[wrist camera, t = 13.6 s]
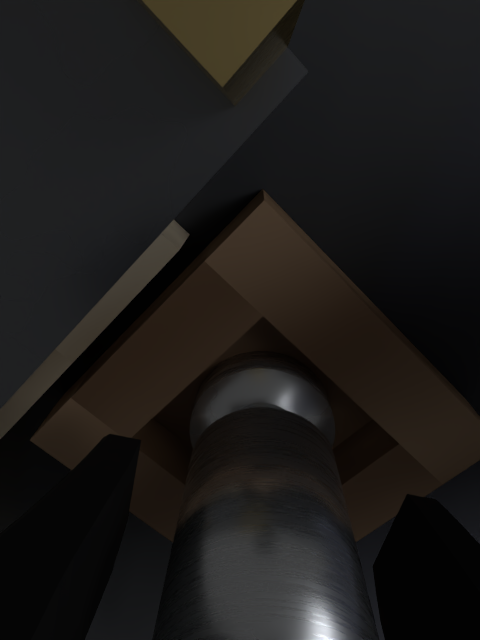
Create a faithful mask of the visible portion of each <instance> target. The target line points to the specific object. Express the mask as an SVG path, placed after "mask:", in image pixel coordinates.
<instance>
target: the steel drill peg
mask: <svg viewBox="0 0 480 640" xmlns="http://www.w3.org/2000/svg"><path fill="white" fill-rule="evenodd" d="M334 439H335V422H334V417H333V414H332V410H331V406H330V403H329V399H328V396H327V393H326V390H325V388H324V386H323V384H322V382H321V380H320V379H319V377H318V376H317V375H316V374H315V373H314V372H313V371H312V370H311V369H310V368H309V367H308V366H307V365H305V364H304V363H302V362H301V361H299V360H297V359H295V358H293V357H291V356H288V355H285V354H282V353H277V352H272V351H251V352H246V353H242V354H238V355H235V356H233V357H230V358H228V359H226V360H225V361H223V362H221V363H220V364H218V365H217V366H216V367H215V368H213V369H212V370H211V371H210V372H209V373H208V374H207V376H206V377H205V378H204V380H203V381H202V383H201V385H200V387H199V389H198V392H197V395H196V399H195V403H194V407H193V411H192V415H191V421H190V440H191V444H192V447H193V451H192V455H191V459H190V464H189V469H188V474H187V478H186V483H185V488H184V492H183V497H182V502H181V507H180V511H179V516H178V521H177V525H176V530H175V535H174V540H173V544H172V549H171V554H170V559H169V563H168V568H167V573H166V577H165V582H164V587H163V592H162V596H161V601H160V606H159V611H158V615H157V620H156V625H155V629H154V634H153V639H152V640H379V637H378V633H377V629H376V624H375V620H374V616H373V612H372V608H371V604H370V600H369V596H368V592H367V588H366V583H365V579H364V575H363V571H362V567H361V563H360V559H359V555H358V551H357V547H356V542H355V538H354V534H353V530H352V526H351V522H350V518H349V514H348V510H347V506H346V501H345V497H344V493H343V489H342V485H341V481H340V477H339V473H338V469H337V465H336V460H335V456H334V453H333V450H332V447H333V444H334Z"/></svg>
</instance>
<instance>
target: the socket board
mask: <svg viewBox="0 0 480 640" xmlns="http://www.w3.org/2000/svg"><path fill="white" fill-rule="evenodd" d="M189 235H190V234H189V233H188V232H186V231H185V230H184V229H183V228H182V227H181V226H180V225H179V224H178V223H177V222H176V221H175V220H173V221H172V222H171V223H170V224H169V225H168V227H167V228H166V229H165V230H164V231H163V232H162V233H161V234H160V235H159V236H158V237H157V239H156V240H155V241H154V242H153V243H152V244H151V245H150V246H149V247H148V248H147V249H146V251H145V252H144V253H143V254H142V255H141V256H140V257H139V258H138V259H137V260H136V262H135V263H134V264H133V265H132V266H131V267H130V268H129V269H128V270H127V271H126V272H125V274H124V275H123V276H122V277H121V278H120V279H119V280H118V281H117V282H116V283H115V284H114V286H113V287H112V288H111V289H110V290H109V291H108V292H107V293H106V294H105V295H104V296H103V298H102V299H101V300H100V301H99V302H98V303H97V304H96V305H95V306H94V307H93V309H92V310H91V311H90V312H89V313H88V314H87V315H86V316H85V317H84V318H83V319H82V321H81V322H80V323H79V324H78V325H77V326H76V327H75V328H74V329H73V330H72V331H71V333H70V334H69V335H68V336H67V337H66V338H65V339H64V340H63V341H62V342H61V343H60V345H59V346H58V347H57V348H56V349H55V350H54V351H53V352H52V353H51V354H50V355H49V357H48V358H47V359H46V360H45V361H44V362H43V363H42V364H41V365H40V366H39V368H38V369H37V370H36V371H35V372H34V373H33V374H32V375H31V376H30V377H29V378H28V380H27V381H26V382H25V383H24V384H23V385H22V386H21V387H20V388H19V389H18V390H17V392H16V393H15V394H14V395H13V396H12V397H11V398H10V399H9V400H8V401H7V402H6V404H5V405H4V406H3V407H2V408H1V409H0V439H1V438H2V437H3V436H4V435H5V434H6V433H7V432H8V431H9V430H10V429H11V428H12V427H13V425H14V424H15V423H16V422H17V421H18V420H19V419H20V418H21V417H22V416H23V415H24V414H25V413H26V412H27V411H28V410H29V409H30V407H31V406H32V405H33V404H34V403H35V402H36V401H37V400H38V399H39V398H40V397H41V396H42V395H43V394H44V393H45V392H46V391H47V389H48V388H49V387H50V386H51V385H52V384H53V383H54V382H55V381H56V380H57V379H58V378H59V377H60V376H61V375H62V374H63V373H64V372H65V370H66V369H67V368H68V367H69V366H70V365H71V364H72V363H73V362H74V361H75V360H76V359H77V358H78V357H79V356H80V355H81V354H82V352H83V351H84V350H85V349H86V348H87V347H88V346H89V345H90V344H91V343H92V342H93V341H94V340H95V339H96V338H97V337H98V336H99V334H100V333H101V332H102V331H103V330H104V329H105V328H106V327H107V326H108V325H109V324H110V323H111V322H112V321H113V320H114V319H115V318H116V317H117V315H118V314H119V313H120V312H121V311H122V310H123V309H124V308H125V307H126V306H127V305H128V304H129V303H130V302H131V301H132V300H133V299H134V297H135V296H136V295H137V294H138V293H139V292H140V291H141V290H142V289H143V288H144V287H145V286H146V285H147V284H148V283H149V282H150V281H151V279H152V278H153V277H154V276H155V275H156V274H157V273H158V272H159V271H160V270H161V269H162V268H163V267H164V266H165V265H166V264H167V263H168V262H169V260H170V259H171V258H172V257H173V256H174V255H175V254H176V253H177V252H178V251H179V250H180V248H181V247H182V245H183V244H184V242H185V241H186V239H187V238H188V236H189Z"/></svg>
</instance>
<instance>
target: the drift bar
mask: <svg viewBox="0 0 480 640" xmlns="http://www.w3.org/2000/svg"><path fill="white" fill-rule="evenodd" d="M304 1H305V0H0V409H1V408H2V407H3V406H4V405H5V404H6V402H7V401H8V400H9V399H10V398H11V397H12V396H13V395H14V394H15V393H16V392H17V390H18V389H19V388H20V387H21V386H22V385H23V384H24V383H25V382H26V381H27V380H28V378H29V377H30V376H31V375H32V374H33V373H34V372H35V371H36V370H37V369H38V368H39V366H40V365H41V364H42V363H43V362H44V361H45V360H46V359H47V358H48V357H49V355H50V354H51V353H52V352H53V351H54V350H55V349H56V348H57V347H58V346H59V345H60V343H61V342H62V341H63V340H64V339H65V338H66V337H67V336H68V335H69V334H70V333H71V331H72V330H73V329H74V328H75V327H76V326H77V325H78V324H79V323H80V322H81V321H82V319H83V318H84V317H85V316H86V315H87V314H88V313H89V312H90V311H91V310H92V309H93V307H94V306H95V305H96V304H97V303H98V302H99V301H100V300H101V299H102V298H103V296H104V295H105V294H106V293H107V292H108V291H109V290H110V289H111V288H112V287H113V286H114V284H115V283H116V282H117V281H118V280H119V279H120V278H121V277H122V276H123V275H124V274H125V272H126V271H127V270H128V269H129V268H130V267H131V266H132V265H133V264H134V263H135V262H136V260H137V259H138V258H139V257H140V256H141V255H142V254H143V253H144V252H145V251H146V249H147V248H148V247H149V246H150V245H151V244H152V243H153V242H154V241H155V240H156V239H157V237H158V236H159V235H160V234H161V233H162V232H163V231H164V230H165V229H166V228H167V227H168V225H169V224H170V223H171V222H172V221H173V220H174V219H175V218H176V217H177V216H178V215H179V213H180V212H181V211H182V210H183V209H184V208H185V207H186V206H187V205H188V204H189V202H190V201H191V200H192V199H193V198H194V197H195V196H196V195H197V194H198V193H199V192H200V190H201V189H202V188H203V187H204V186H205V185H206V184H207V183H208V182H209V181H210V180H211V178H212V177H213V176H214V175H215V174H216V173H217V172H218V171H219V170H220V169H221V168H222V166H223V165H224V164H225V163H226V162H227V161H228V160H229V159H230V158H231V157H232V156H233V154H234V153H235V152H236V151H237V150H238V149H239V148H240V147H241V146H242V145H243V143H244V142H245V141H246V140H247V139H248V138H249V137H250V136H251V135H252V134H253V133H254V131H255V130H256V129H257V128H258V127H259V126H260V125H261V124H262V123H263V122H264V121H265V119H266V118H267V117H268V116H269V115H270V114H271V113H272V112H273V111H274V110H275V109H276V107H277V106H278V105H279V104H280V103H281V102H282V101H283V100H284V99H285V98H286V96H287V95H288V94H289V93H290V92H291V91H292V90H293V89H294V88H295V87H296V86H297V84H298V83H299V82H300V81H301V80H302V79H303V78H304V77H305V76H306V74H307V73H308V70H307V69H306V68H305V67H304V66H303V65H302V63H301V62H300V61H299V60H298V59H297V58H296V56H295V55H294V54H293V53H292V52H291V51H290V49H289V48H288V44H289V42H290V39H291V36H292V33H293V31H294V28H295V25H296V23H297V20H298V17H299V14H300V12H301V9H302V6H303V4H304Z"/></svg>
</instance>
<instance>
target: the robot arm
mask: <svg viewBox="0 0 480 640" xmlns="http://www.w3.org/2000/svg"><path fill="white" fill-rule="evenodd" d="M140 444H141V440H139V439H134V438H129V437H124V436H119V435H114V434H108V435H107V436H105V437H103V438H102V439H101V441H100V442H99V443H98V444H97V445H96V446H95V447H94V448H93V449H92V450H91V451H90V452H89V454H88V455H87V456H86V457H85V458H84V459H83V460H82V461H81V462H80V463H79V464H78V465H77V466H76V467H75V468H74V469H73V470H72V471H71V472H70V473H68V474H67V475H66V476H65V477H64V478H63V479H62V480H61V481H60V482H59V483H58V484H57V485H56V486H55V487H54V488H52V489H51V490H50V491H49V492H48V493H47V494H46V495H45V496H44V497H43V498H41V499H40V500H39V501H38V502H37V503H36V504H35V505H34V506H33V507H32V508H30V509H29V510H28V511H27V512H26V513H25V514H24V515H22V516H21V517H20V518H19V519H18V520H16V521H15V522H14V523H13V524H11V525H10V526H9V527H8V528H7V529H5V530H4V531H3V532H2V533H0V640H85V637H86V635H87V632H88V630H89V627H90V625H91V622H92V620H93V618H94V615H95V613H96V610H97V608H98V605H99V603H100V600H101V598H102V595H103V593H104V590H105V588H106V585H107V583H108V580H109V578H110V575H111V573H112V570H113V566H114V563H115V560H116V556H117V553H118V550H119V546H120V543H121V540H122V536H123V533H124V530H125V526H126V523H127V519H128V514H129V508H130V502H131V497H132V491H133V485H134V479H135V473H136V468H137V462H138V456H139V450H140ZM373 572H374V579H375V587H376V595H377V602H378V608H379V614H380V620H381V625H382V629H383V633H384V637H385V640H480V544H479V543H478V542H477V541H476V540H475V539H474V538H473V537H472V536H471V535H470V534H469V532H468V531H467V530H466V529H465V528H464V527H463V526H462V525H461V524H460V523H459V522H458V521H457V520H456V519H455V518H454V517H453V516H452V515H451V514H450V513H449V512H448V511H447V510H446V509H445V508H444V507H443V506H442V505H441V504H440V503H439V502H438V501H437V500H435V499H430V498H425V497H420V496H416V495H411V494H407V495H406V497H405V499H404V501H403V503H402V505H401V507H400V510H399V512H398V514H397V516H396V518H395V520H394V522H393V524H392V526H391V529H390V531H389V533H388V535H387V537H386V539H385V541H384V543H383V546H382V548H381V550H380V552H379V554H378V556H377V558H376V560H375V563H374V565H373Z"/></svg>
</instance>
